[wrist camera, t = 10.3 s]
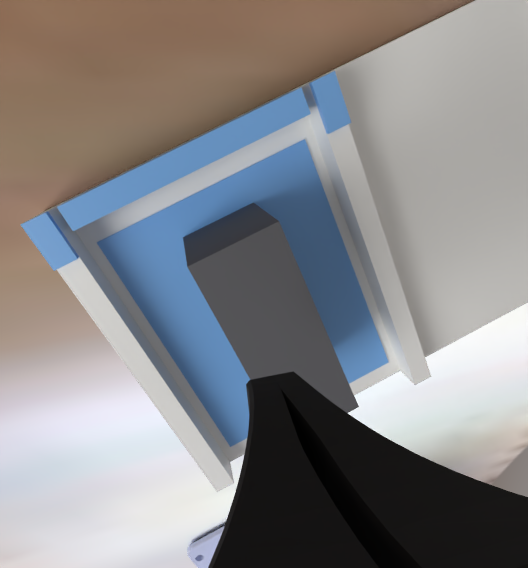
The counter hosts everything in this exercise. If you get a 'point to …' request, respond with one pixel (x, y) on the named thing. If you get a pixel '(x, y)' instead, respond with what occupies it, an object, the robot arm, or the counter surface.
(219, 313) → the dark gray rectangular block
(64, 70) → the counter surface
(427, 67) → the tray
